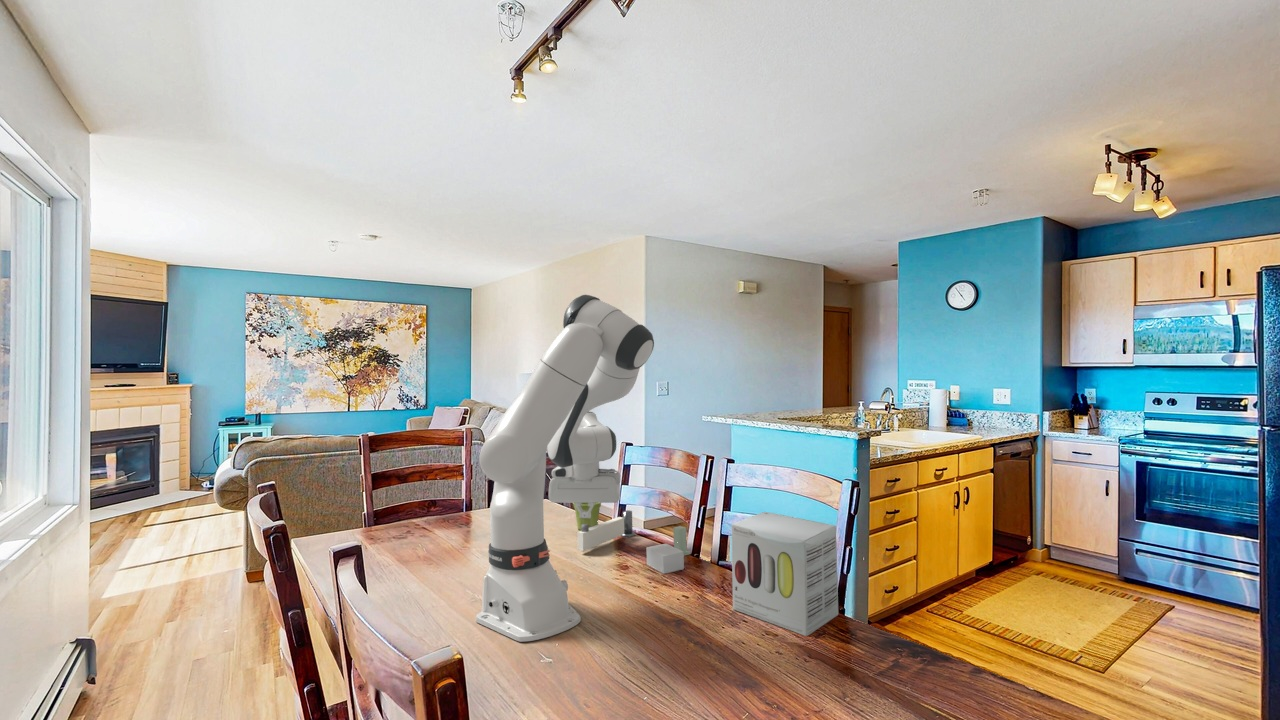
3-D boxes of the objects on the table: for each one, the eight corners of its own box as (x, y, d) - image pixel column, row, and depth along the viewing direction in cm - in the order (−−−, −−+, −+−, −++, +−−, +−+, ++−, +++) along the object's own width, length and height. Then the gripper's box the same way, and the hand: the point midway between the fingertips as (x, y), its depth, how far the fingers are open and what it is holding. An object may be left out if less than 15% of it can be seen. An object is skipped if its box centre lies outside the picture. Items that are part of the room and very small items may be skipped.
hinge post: (638, 535, 174) (637, 511, 174) (626, 538, 171) (626, 514, 171) (629, 532, 177) (628, 509, 177) (617, 535, 174) (617, 511, 174)
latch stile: (692, 553, 156) (691, 527, 156) (679, 557, 153) (679, 530, 153) (678, 548, 160) (677, 523, 160) (666, 552, 158) (665, 526, 158)
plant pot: (605, 524, 186) (604, 497, 186) (600, 533, 177) (599, 504, 177) (576, 524, 187) (575, 497, 187) (569, 533, 178) (569, 504, 178)
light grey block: (684, 569, 145) (683, 551, 145) (663, 574, 142) (663, 556, 142) (666, 560, 152) (666, 543, 152) (646, 565, 149) (646, 547, 149)
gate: (618, 533, 172) (618, 511, 172) (624, 534, 171) (623, 512, 171) (577, 549, 158) (577, 526, 158) (583, 551, 156) (582, 527, 156)
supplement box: (730, 611, 120) (728, 523, 120) (766, 592, 129) (764, 510, 129) (807, 638, 108) (805, 540, 108) (840, 614, 117) (838, 524, 117)
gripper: (621, 466, 166) (623, 515, 166) (552, 467, 169) (553, 514, 169) (618, 470, 160) (619, 521, 160) (546, 471, 163) (547, 520, 163)
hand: (585, 517), depth 165 cm, fingers closed
